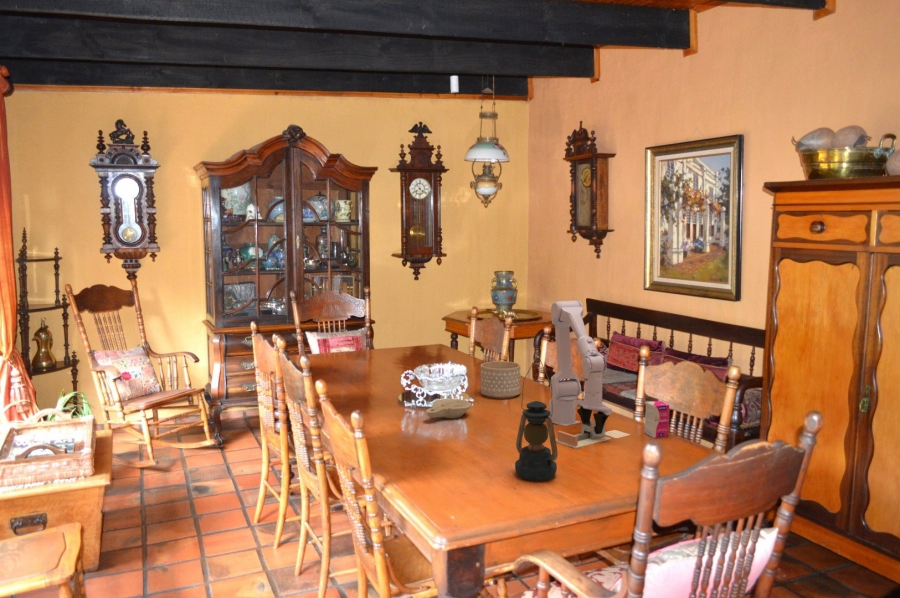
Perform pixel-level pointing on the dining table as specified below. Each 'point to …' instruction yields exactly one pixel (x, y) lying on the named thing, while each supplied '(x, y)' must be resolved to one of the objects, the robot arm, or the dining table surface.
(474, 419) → the dining table surface
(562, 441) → the rail board
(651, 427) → the supplement box
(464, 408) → the oil lamp
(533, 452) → the lantern
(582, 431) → the clip
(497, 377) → the planter
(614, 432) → the pad
